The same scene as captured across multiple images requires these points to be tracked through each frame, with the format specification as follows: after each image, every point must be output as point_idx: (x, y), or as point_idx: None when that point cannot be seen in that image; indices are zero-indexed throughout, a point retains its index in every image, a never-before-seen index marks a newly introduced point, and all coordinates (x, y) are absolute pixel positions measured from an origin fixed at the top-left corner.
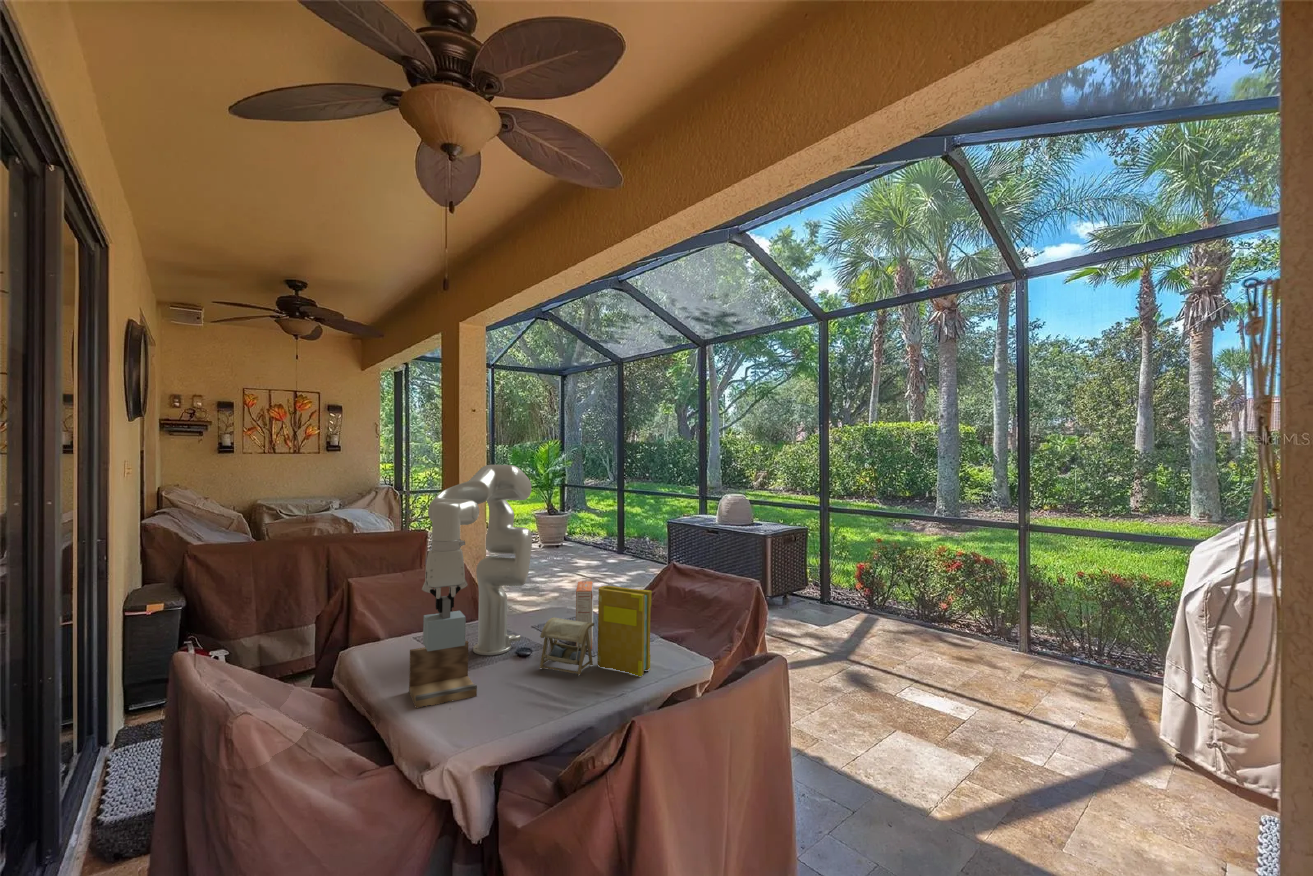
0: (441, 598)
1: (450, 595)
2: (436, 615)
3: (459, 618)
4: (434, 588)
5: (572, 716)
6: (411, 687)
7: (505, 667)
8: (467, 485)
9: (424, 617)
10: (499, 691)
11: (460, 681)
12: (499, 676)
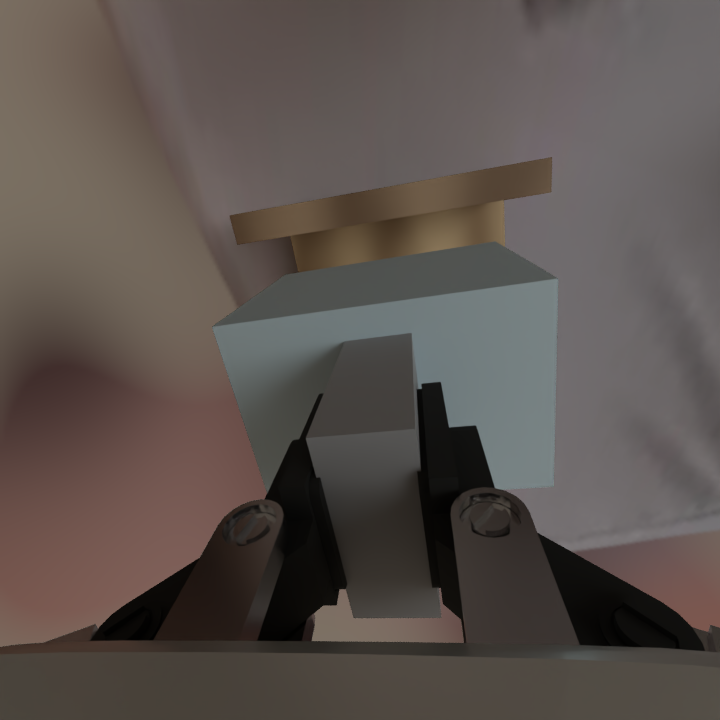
0: (331, 595)
1: (454, 599)
2: (322, 369)
3: (499, 485)
4: (160, 632)
5: (699, 530)
6: (293, 236)
7: (710, 45)
8: None
9: (228, 363)
10: (582, 313)
11: (465, 242)
12: (636, 163)
